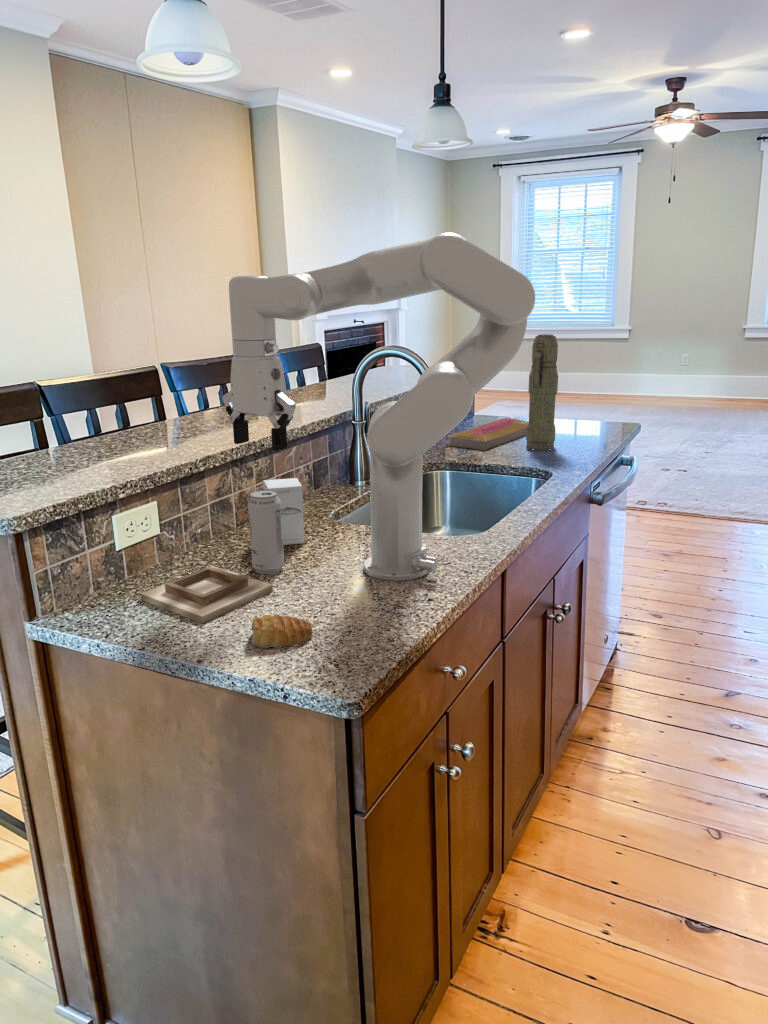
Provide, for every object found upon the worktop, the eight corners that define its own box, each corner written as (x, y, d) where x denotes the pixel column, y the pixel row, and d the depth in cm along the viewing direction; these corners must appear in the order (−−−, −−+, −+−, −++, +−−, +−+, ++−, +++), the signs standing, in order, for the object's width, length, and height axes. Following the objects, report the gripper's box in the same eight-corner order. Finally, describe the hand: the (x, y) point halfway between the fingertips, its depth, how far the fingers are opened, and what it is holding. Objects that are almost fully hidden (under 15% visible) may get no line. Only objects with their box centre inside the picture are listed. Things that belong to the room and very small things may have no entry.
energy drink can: (254, 564, 147) (249, 489, 143) (285, 563, 148) (281, 488, 143) (251, 575, 142) (245, 498, 137) (283, 574, 142) (279, 497, 138)
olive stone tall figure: (520, 450, 238) (525, 336, 227) (531, 443, 248) (536, 333, 238) (548, 453, 234) (555, 336, 224) (558, 445, 244) (564, 333, 234)
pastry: (309, 626, 121) (308, 605, 120) (315, 646, 115) (314, 623, 114) (250, 633, 120) (248, 611, 118) (252, 653, 113) (250, 630, 112)
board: (272, 590, 135) (271, 576, 134) (202, 623, 123) (201, 608, 122) (212, 571, 144) (210, 558, 143) (141, 599, 132) (139, 585, 131)
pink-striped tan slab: (499, 429, 273) (499, 412, 271) (535, 433, 264) (536, 416, 263) (446, 447, 246) (446, 428, 244) (485, 452, 238) (486, 433, 236)
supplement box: (269, 547, 156) (266, 488, 152) (265, 536, 163) (262, 479, 159) (305, 544, 158) (302, 485, 154) (299, 533, 165) (297, 476, 161)
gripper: (306, 350, 130) (310, 448, 135) (236, 345, 140) (242, 437, 145) (275, 354, 125) (280, 456, 130) (204, 349, 134) (212, 443, 140)
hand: (260, 445), depth 138 cm, fingers open, 9 cm apart
